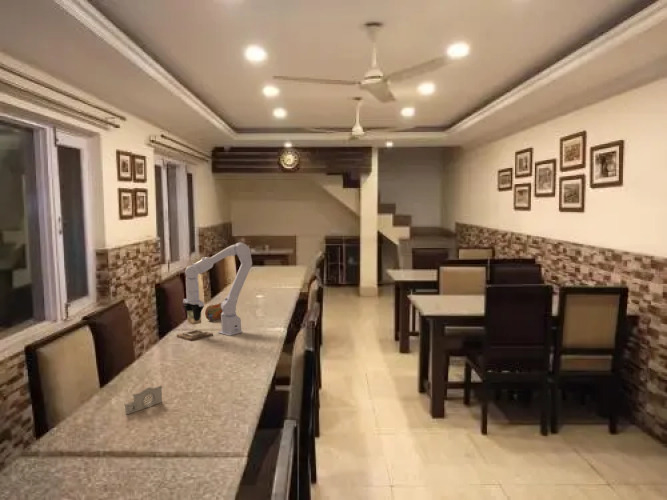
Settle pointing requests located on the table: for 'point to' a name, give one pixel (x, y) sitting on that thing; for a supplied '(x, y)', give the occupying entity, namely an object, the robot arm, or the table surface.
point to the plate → (194, 335)
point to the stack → (192, 318)
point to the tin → (213, 312)
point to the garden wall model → (140, 398)
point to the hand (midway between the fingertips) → (194, 319)
